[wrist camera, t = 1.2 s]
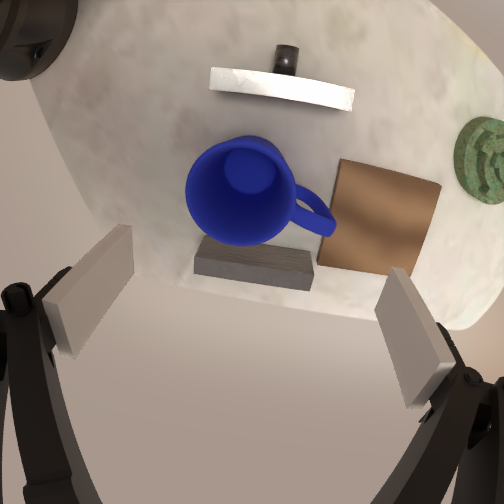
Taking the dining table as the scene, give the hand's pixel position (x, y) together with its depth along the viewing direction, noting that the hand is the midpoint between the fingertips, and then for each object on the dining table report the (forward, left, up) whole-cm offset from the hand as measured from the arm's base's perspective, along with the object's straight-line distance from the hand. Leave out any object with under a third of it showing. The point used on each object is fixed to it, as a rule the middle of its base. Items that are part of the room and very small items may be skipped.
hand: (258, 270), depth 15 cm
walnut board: (+3, +13, -19) cm, 23 cm away
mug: (0, 0, -19) cm, 19 cm away
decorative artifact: (-8, +25, -19) cm, 32 cm away
